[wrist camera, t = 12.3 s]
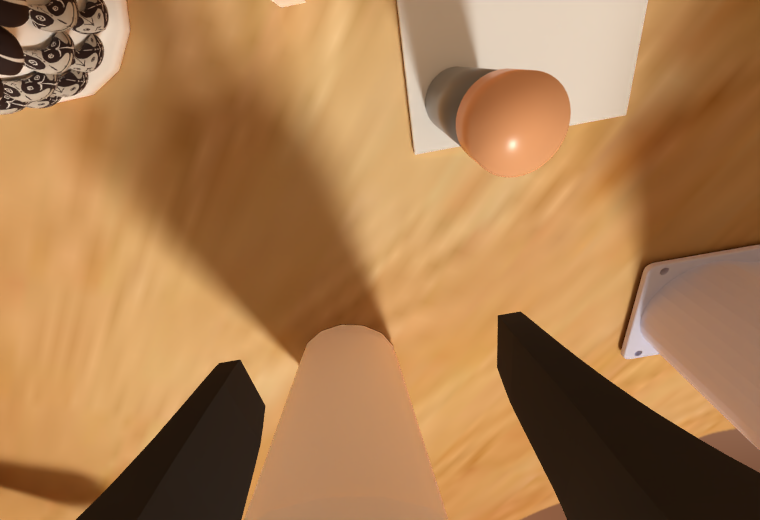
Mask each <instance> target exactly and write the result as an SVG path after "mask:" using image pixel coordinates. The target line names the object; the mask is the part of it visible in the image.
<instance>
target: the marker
mask: <svg viewBox="0 0 760 520" xmlns="http://www.w3.org/2000/svg"><path fill="white" fill-rule="evenodd" d="M425 107H426V112H427V115H428V117H429V119H430V120H431V121H432V123H433V124H434V125H435V126H437V127H438V128H439V129H440V130H441V131H443V132H444V133H445V134H446V135H447V136H449V137H450V138H451V139H452V140H453V141H455V142H456V143H457V144H458V145H459V146H461V147H462V149H463V150H464V151H465V152H466V153H467V154H468V155H469V156H470V157H471V158H472V159H473V160H475V161H476V162H477V163H478V164H479V165H480V166H482V167H483V168H484V169H485V170H487V171H488V172H490V173H492V174H494V175H497V176H501V177H518V176H522V175H525V174H528V173H531V172H533V171H535V170H536V169H538V168H540V167H541V166H542V165H544V164H545V163H546V162H547V161H548V160H549V159H550V158H552V156H553V155H554V154H555V153H556V152H557V150H558V149H559V147H560V146H561V144H562V142H563V141H564V139H565V136H566V134H567V131H568V128H569V123H570V116H571V108H570V101H569V97H568V94H567V92H566V90H565V88H564V87H563V85H562V84H561V83H560V82H559V81H558V80H557V79H556V78H555V77H553V76H552V75H550V74H548V73H545V72H542V71H537V70H524V69H508V68H506V69H499V70H497V69H485V68H472V67H459V66H456V67H450V68H447V69H445V70H443V71H442V72H440V73H439V74H438V75H437V76H436V77H435V78H434V79H433V80H432V82H431V83H430V85H429V87H428V90H427V93H426V98H425Z"/></svg>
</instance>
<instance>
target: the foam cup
mask: <svg viewBox="0 0 760 520" xmlns="http://www.w3.org/2000/svg"><path fill="white" fill-rule="evenodd" d="M244 520H448V517H447V514H446V511H445V508H444V504H443V501H442V498H441V495H440V492H439V489H438V485H437V482H436V479H435V476H434V473H433V470H432V467H431V463H430V460H429V457H428V454H427V451H426V448H425V444H424V441H423V438H422V435H421V432H420V429H419V425H418V422H417V419H416V416H415V413H414V410H413V406H412V403H411V400H410V397H409V394H408V391H407V388H406V384H405V381H404V378H403V375H402V372H401V369H400V365H399V362H398V359H397V356H396V353H395V352H394V349H393V345H392V344H391V343H390V342H389V341H388V340H387V339H386V337H385V336H384V335H383V334H382V333H380V332H378V331H375V330H373V329H370V328H368V327H366V326H363V325H339V326H336V327H333V328H329V329H326V330H323V331H321V332H319V333H318V334H317V335H316V336H315V337H314V338H313V339H312V340H310V341H309V342H308V343H307V345H306V348H305V350H304V353H303V356H302V358H301V361H300V364H299V367H298V370H297V373H296V375H295V378H294V381H293V384H292V387H291V389H290V392H289V395H288V398H287V401H286V404H285V406H284V409H283V412H282V415H281V418H280V421H279V423H278V426H277V429H276V432H275V435H274V437H273V440H272V443H271V446H270V449H269V452H268V454H267V457H266V460H265V463H264V466H263V469H262V471H261V474H260V477H259V480H258V483H257V485H256V488H255V491H254V494H253V497H252V500H251V502H250V505H249V508H248V511H247V514H246V517H245V519H244Z"/></svg>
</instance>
